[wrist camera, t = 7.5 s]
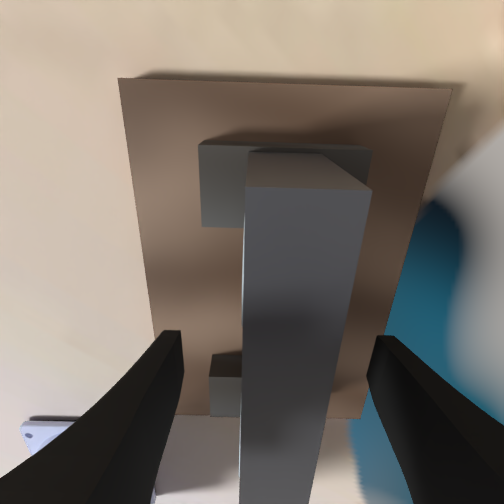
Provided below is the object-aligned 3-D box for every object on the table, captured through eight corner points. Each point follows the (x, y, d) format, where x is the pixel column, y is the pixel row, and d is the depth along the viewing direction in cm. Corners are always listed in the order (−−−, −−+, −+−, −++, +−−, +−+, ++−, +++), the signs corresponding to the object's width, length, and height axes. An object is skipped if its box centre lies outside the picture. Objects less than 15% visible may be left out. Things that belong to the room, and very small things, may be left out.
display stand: (355, 404, 20) (368, 443, 17) (169, 400, 20) (158, 438, 17) (437, 90, 12) (480, 86, 10) (128, 80, 12) (98, 74, 9)
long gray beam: (289, 420, 17) (302, 537, 12) (241, 419, 17) (237, 537, 12) (322, 153, 10) (375, 190, 6) (247, 151, 10) (242, 186, 6)
